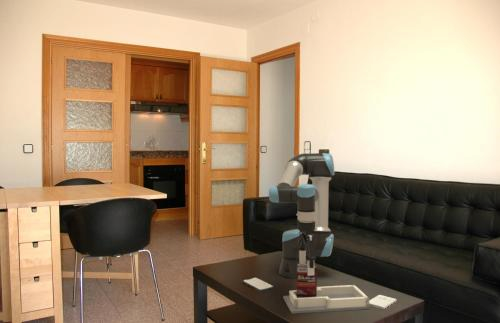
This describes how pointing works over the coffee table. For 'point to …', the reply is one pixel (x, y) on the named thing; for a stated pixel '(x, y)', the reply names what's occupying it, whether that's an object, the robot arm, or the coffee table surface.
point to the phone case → (258, 284)
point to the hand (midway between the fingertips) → (306, 270)
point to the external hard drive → (381, 301)
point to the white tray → (328, 300)
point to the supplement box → (306, 282)
